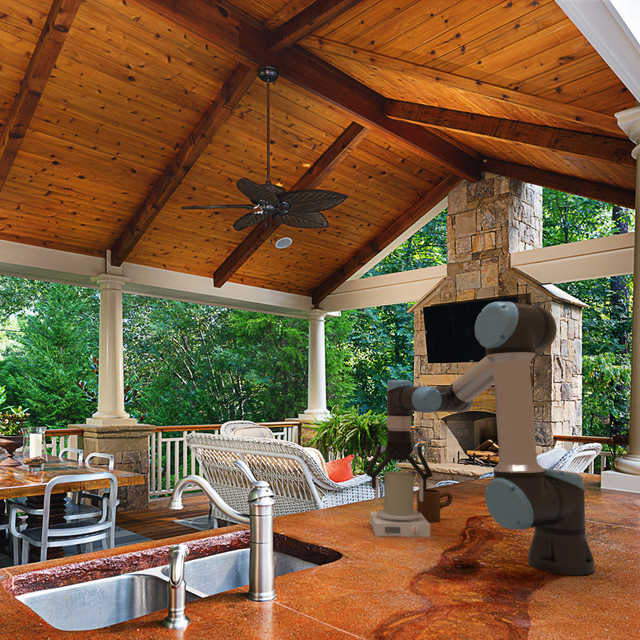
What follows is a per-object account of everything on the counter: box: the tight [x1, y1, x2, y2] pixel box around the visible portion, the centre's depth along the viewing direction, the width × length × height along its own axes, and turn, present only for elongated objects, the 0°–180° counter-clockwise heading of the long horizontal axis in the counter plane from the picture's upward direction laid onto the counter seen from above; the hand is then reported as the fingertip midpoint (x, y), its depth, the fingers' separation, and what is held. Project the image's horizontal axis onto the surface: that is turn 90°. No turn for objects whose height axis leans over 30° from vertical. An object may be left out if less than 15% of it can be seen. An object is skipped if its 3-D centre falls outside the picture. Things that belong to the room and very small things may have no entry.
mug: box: [416, 488, 453, 523], centre depth 190 cm, size 12×8×9 cm, turn 98°
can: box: [383, 471, 415, 516], centre depth 177 cm, size 9×9×12 cm
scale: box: [369, 508, 431, 538], centre depth 175 cm, size 16×16×5 cm
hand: (398, 500), depth 176 cm, fingers open, 13 cm apart
